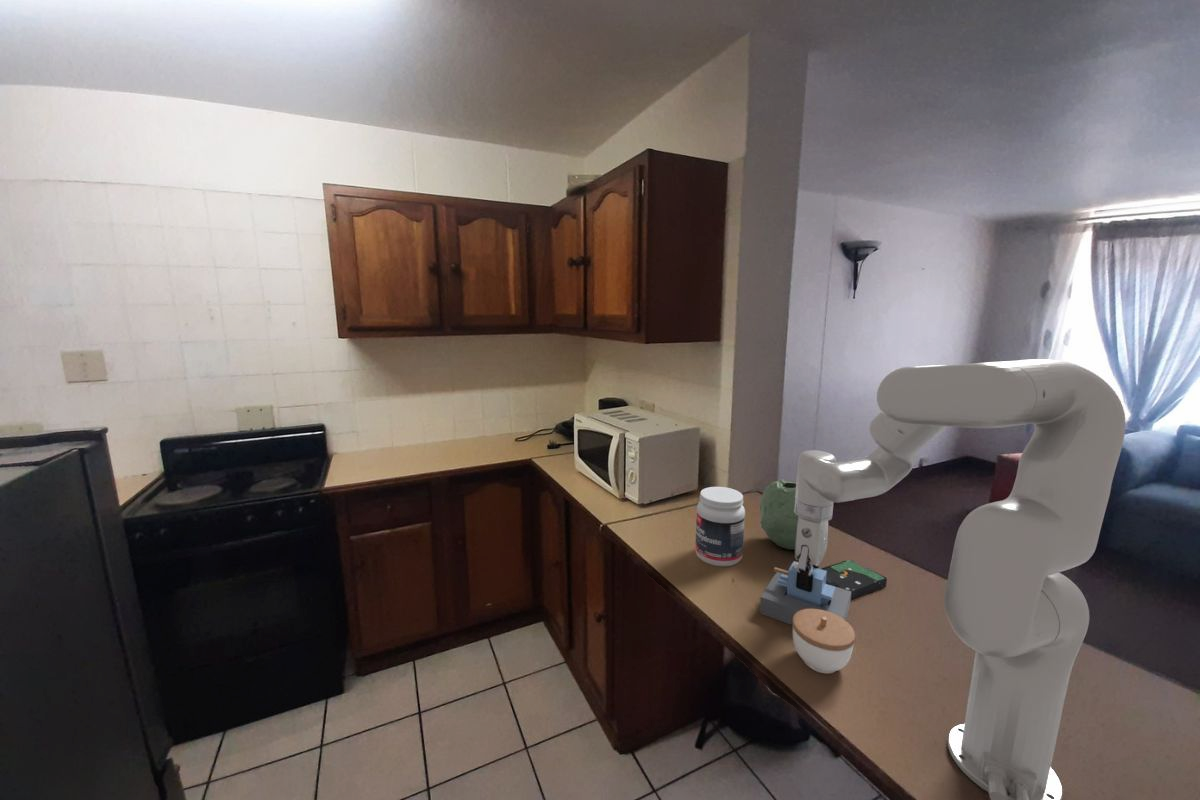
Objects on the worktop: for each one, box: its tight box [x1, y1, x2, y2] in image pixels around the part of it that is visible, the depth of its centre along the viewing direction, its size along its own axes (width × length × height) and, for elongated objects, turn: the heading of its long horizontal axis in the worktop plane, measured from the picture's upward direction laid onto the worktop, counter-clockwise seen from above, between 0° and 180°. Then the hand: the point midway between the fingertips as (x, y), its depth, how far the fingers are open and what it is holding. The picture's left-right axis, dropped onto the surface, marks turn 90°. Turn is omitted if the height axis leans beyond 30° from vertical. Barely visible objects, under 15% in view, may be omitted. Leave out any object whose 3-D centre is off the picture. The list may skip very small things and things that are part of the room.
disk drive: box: [820, 559, 888, 600], centre depth 114 cm, size 10×3×15 cm
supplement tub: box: [694, 486, 746, 567], centre depth 125 cm, size 13×13×18 cm
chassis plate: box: [759, 572, 852, 626], centre depth 103 cm, size 14×16×4 cm
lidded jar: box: [792, 609, 856, 675], centre depth 87 cm, size 11×11×9 cm
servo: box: [773, 560, 836, 607], centre depth 103 cm, size 13×4×9 cm, turn 53°
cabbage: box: [759, 478, 799, 550], centre depth 130 cm, size 16×19×20 cm
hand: (806, 583), depth 102 cm, fingers closed on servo, 4 cm apart
